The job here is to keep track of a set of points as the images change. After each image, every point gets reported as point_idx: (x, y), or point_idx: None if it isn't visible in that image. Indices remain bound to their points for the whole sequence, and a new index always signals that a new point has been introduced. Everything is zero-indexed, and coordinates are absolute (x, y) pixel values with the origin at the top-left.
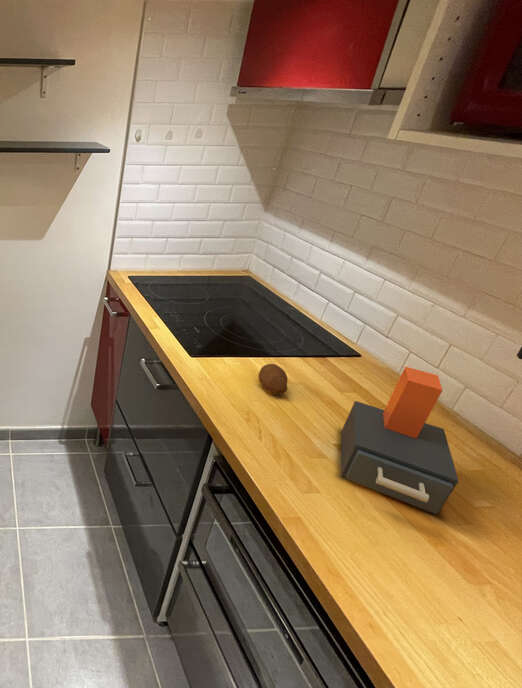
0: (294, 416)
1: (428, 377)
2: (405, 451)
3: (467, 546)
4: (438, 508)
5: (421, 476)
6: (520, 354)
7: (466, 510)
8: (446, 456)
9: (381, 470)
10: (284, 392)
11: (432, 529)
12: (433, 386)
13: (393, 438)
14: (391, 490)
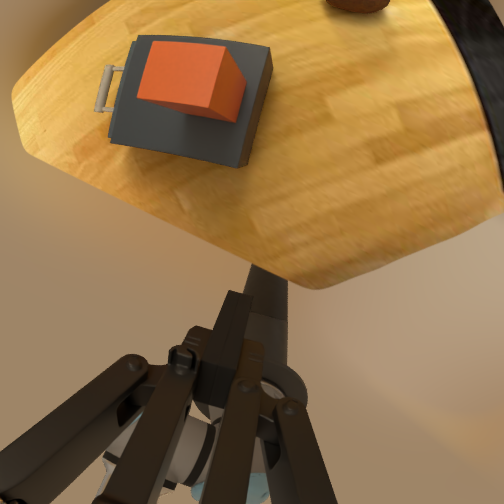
0: (283, 14)
1: (185, 82)
2: None
3: (110, 158)
4: None
5: (114, 106)
6: (231, 297)
7: (162, 178)
8: (156, 143)
9: (123, 69)
10: (329, 3)
11: None
12: (144, 83)
13: None
14: None
